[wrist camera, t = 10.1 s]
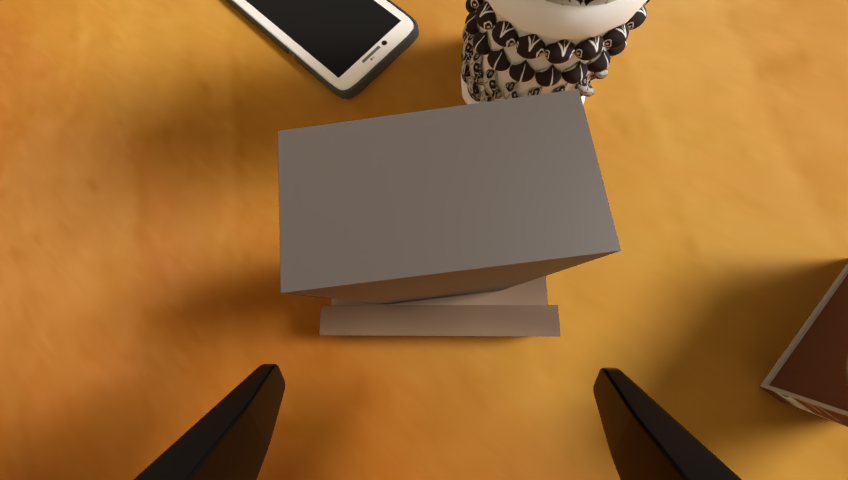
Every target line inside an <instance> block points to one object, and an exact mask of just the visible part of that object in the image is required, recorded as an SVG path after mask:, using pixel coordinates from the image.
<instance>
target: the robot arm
mask: <svg viewBox="0 0 848 480" xmlns="http://www.w3.org/2000/svg"><path fill="white" fill-rule="evenodd" d="M284 390H285V381H284V378H283V376H282V374H281V371H280V369H279V367H278V365H276V364H263V365H261V366H259V367H258V368H257V369H256V370H255V371H254V372H252V373H251V374H250V375H249V376H248V377H247V378H246V379H245V380H244V381H242V382H241V383H240V384H239V385H238V386H237V387H236V388H235V389H234V390H232V391H231V392H230V393H229V394H228V395H227V396H226V397H225V398H224V399H222V400H221V401H220V402H219V403H218V404H217V405H216V406H215V407H214V408H212V409H211V410H210V411H209V412H208V413H207V414H206V415H205V416H204V417H202V418H201V419H200V420H199V421H198V422H197V423H196V424H195V425H194V426H193V427H191V428H190V429H189V430H188V431H187V432H186V433H185V434H184V435H183V436H181V437H180V438H179V439H178V440H177V441H176V442H175V443H174V444H173V445H171V446H170V447H169V448H168V449H167V450H166V451H165V452H164V453H163V454H161V455H160V456H159V457H158V458H157V459H156V460H155V461H154V462H153V463H151V464H150V465H149V466H148V467H147V468H146V469H145V470H144V471H143V472H141V473H140V474H139V475H138V476H137V477H136V478H135V479H134V480H256V479H257V476H258V474H259V471H260V468H261V466H262V463H263V461H264V458H265V455H266V453H267V450H268V447H269V444H270V440H271V437H272V434H273V430H274V426H275V423H276V419H277V415H278V412H279V408H280V404H281V401H282V397H283V393H284ZM594 396H595V399H596V403H597V406H598V410H599V414H600V417H601V421H602V424H603V428H604V431H605V435H606V439H607V442H608V446H609V449H610V452H611V455H612V458H613V461H614V464H615V466H616V469H617V471H618V474H619V476H620V479H621V480H741V479H740V478H739V477H738V476H737V475H736V474H735V473H734V472H733V471H731V470H730V469H729V468H728V467H727V466H726V465H725V464H724V463H723V462H722V461H720V460H719V459H718V458H717V457H716V456H715V455H714V454H713V453H712V452H710V451H709V450H708V449H707V448H706V447H705V446H704V445H703V444H702V443H700V442H699V441H698V440H697V439H696V438H695V437H694V436H693V435H692V434H691V433H689V432H688V431H687V430H686V429H685V428H684V427H683V426H682V425H681V424H679V423H678V422H677V421H676V420H675V419H674V418H673V417H672V416H671V415H669V414H668V413H667V412H666V411H665V410H664V409H663V408H662V407H661V406H660V405H658V404H657V403H656V402H655V401H654V400H653V399H652V398H651V397H650V396H648V395H647V394H646V393H645V392H644V391H643V390H642V389H641V388H640V387H639V386H637V385H636V384H635V383H634V382H633V381H632V380H631V379H630V378H629V377H627V376H626V375H625V374H624V373H623V372H622V371H621V370H619V369H617V368H602V369H600V371H599V374H598V376H597V379H596V381H595V384H594Z"/></svg>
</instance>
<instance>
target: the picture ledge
mask: <svg viewBox="0 0 848 480" xmlns="http://www.w3.org/2000/svg"><path fill="white" fill-rule="evenodd" d="M319 335H382V336H556V337H560V326H559V314H558V305H548V301H547V288H546V276H543V277H540V278H537V279H534V280H531V281H528V282H525V283H522V284H519V285H516V286H514V287H511V288H508V289H505V290H501V291H492V292H484V293H476V294H468V295H460V296H452V297H444V298H435V299H427V300H419V301H411V302H403V303H395V304H376V303H367V302H358V301H349V300H340V299H331V305H321V315H320V330H319Z"/></svg>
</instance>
